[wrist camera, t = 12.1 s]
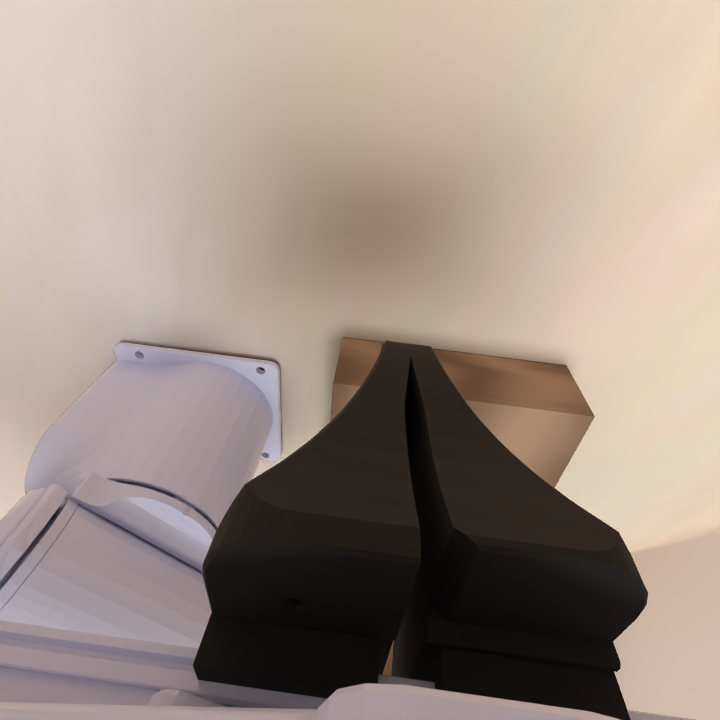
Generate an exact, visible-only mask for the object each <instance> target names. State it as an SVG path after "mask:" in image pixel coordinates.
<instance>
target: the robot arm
mask: <svg viewBox="0 0 720 720" xmlns="http://www.w3.org/2000/svg"><path fill="white" fill-rule="evenodd" d="M139 352H141V353H142V354H143V355H142V354H140V353H139ZM114 353H115V357H116V361H115V362H114V363H113V364H112V365H111V366H110V367H109V368H108V369H107V370H106V371H105V372H104V373H103V374H102V375H101V376H100V377H99V378H98V379H97V380H96V381H95V382H94V383H93V384H92V385H91V386H90V387H89V388H88V389H87V390H86V391H85V392H84V393H83V394H82V395H81V396H80V397H79V398H78V399H77V400H76V401H75V402H74V403H73V404H72V405H71V406H70V407H69V408H68V409H67V410H66V411H65V412H64V413H63V414H62V415H61V416H60V417H59V418H58V419H57V420H56V421H55V422H54V423H53V424H52V425H51V426H50V427H49V428H48V430H47V431H46V432H45V433H44V435H43V436H42V438H41V439H40V441H39V443H38V445H37V446H36V448H35V450H34V452H33V455H32V457H31V459H30V462H29V465H28V468H27V472H26V477H25V495H24V496H23V497H22V498H21V499H20V500H19V501H18V502H17V503H16V504H15V505H14V507H13V508H12V509H11V510H10V511H9V512H8V513H7V514H6V515H5V516H4V517H3V518H2V519H1V520H0V720H694V719H687V718H680V717H673V716H666V715H660V714H653V713H646V712H638V711H631V710H627V708H626V705H625V702H624V699H623V697H622V693H621V691H620V688H619V685H618V682H617V679H616V676H615V673H614V671H616V672H617V671H618V670H619V669H620V660H619V657H618V654H617V652H616V649H615V646H614V643H613V641H614V640H615V639H616V638H617V637H618V636H619V635H620V634H621V633H622V632H623V631H624V630H625V629H626V628H627V627H628V626H629V625H630V624H631V623H632V622H634V621H635V620H636V619H637V617H638V616H639V615H640V613H641V612H642V611H643V609H644V608H645V606H646V604H647V597H648V592H647V590H646V588H645V586H644V584H643V581H642V579H641V577H640V574H639V572H638V570H637V567H636V565H635V563H634V561H633V558H632V556H631V554H630V552H629V550H628V549H627V547H626V545H625V543H624V541H623V539H622V538H621V536H620V534H619V532H618V531H616V530H615V529H613V528H612V527H610V526H609V525H607V524H606V523H604V522H603V521H601V520H600V519H598V518H596V517H595V516H593V515H592V514H590V513H589V512H587V511H586V510H584V509H583V508H581V507H580V506H578V505H577V504H575V503H574V502H572V501H571V500H569V499H568V498H567V497H565V496H564V495H563V494H561V493H560V492H559V491H557V490H556V489H555V488H553V487H552V486H551V485H549V484H548V483H547V482H545V481H544V480H543V479H542V478H541V477H539V476H538V475H537V474H536V473H534V472H533V471H532V470H531V469H529V468H528V467H527V466H526V465H525V464H524V463H523V462H522V461H520V460H519V459H518V458H517V457H516V456H515V455H514V454H513V453H511V452H510V451H509V450H508V449H507V448H506V447H505V446H504V445H503V444H502V443H501V442H500V441H499V440H498V439H497V438H496V437H495V436H494V435H493V434H492V432H491V431H490V430H489V429H488V428H487V427H486V426H485V425H484V424H483V423H482V422H481V420H480V419H479V418H478V417H477V416H476V414H475V413H474V412H473V411H472V409H471V408H470V407H469V405H468V404H467V403H466V401H465V400H464V399H463V397H462V396H461V394H460V393H459V391H458V390H457V389H456V387H455V386H454V384H453V383H452V381H451V380H450V378H449V376H448V375H447V373H446V371H445V370H444V368H443V367H442V365H441V363H440V361H439V360H438V358H437V356H436V354H435V352H434V351H433V349H432V348H431V347H430V346H422V345H414V344H406V343H398V342H390V341H386V342H385V343H383V344H382V348H381V351H380V354H379V356H378V359H377V361H376V363H375V364H374V366H373V368H372V370H371V371H370V373H369V375H368V376H367V378H366V379H365V381H364V382H363V384H362V385H361V387H360V388H359V389H358V391H357V392H356V393H355V395H354V396H353V397H352V398H351V400H350V401H349V402H348V403H347V404H346V406H345V407H344V408H343V409H342V410H341V411H340V412H339V413H338V414H337V415H336V417H335V418H334V419H333V420H332V421H331V422H330V423H328V424H327V425H326V426H325V427H324V428H323V429H322V430H321V431H320V432H319V433H318V434H317V435H315V436H314V437H313V438H312V439H311V440H310V441H308V442H307V443H306V444H304V445H303V446H302V447H300V448H299V449H298V450H296V451H295V452H294V453H292V454H291V455H290V456H288V457H287V458H286V459H284V460H283V461H281V462H280V463H278V464H277V465H275V466H274V467H272V468H270V469H269V470H267V471H265V472H264V473H262V474H261V475H259V476H257V477H256V478H254V479H252V478H253V475H254V472H255V470H256V467H257V464H258V462H259V459H263V460H271V461H277V460H279V459H280V458H281V454H282V442H281V403H280V369H279V366H278V365H277V364H276V363H275V362H272V361H265V360H258V359H250V358H242V357H234V356H226V355H218V354H211V353H203V352H195V351H187V350H179V349H171V348H164V347H156V346H148V345H140V344H132V343H124V342H120V343H118V344H117V345H116V346H115V347H114ZM259 367H262V368H264V369H265V370H260V369H259ZM265 452H266V453H265ZM393 640H394V645H393V646H394V647H393V660H392V675H391V676H388V675H382V673H383V670H384V667H385V664H386V661H387V658H388V654H389V651H390V648H391V645H392V642H393Z"/></svg>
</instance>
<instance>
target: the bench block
mask: <svg viewBox="0 0 720 720" xmlns="http://www.w3.org/2000/svg"><path fill="white" fill-rule="evenodd" d="M382 344H383V343H381V342H373V341H365V340H358V339H350V338H344V339H343V343H342V348H341V352H340V356H339V361H338V365H337V369H336V373H335V378H334V382H333V394H332V409H331V421H332V420H333V419H334V418H335V417H336V415H337V414H338V413H339V412H340V411H341V410H342V409H343V408H344V407H345V406H346V404H347V403H348V402H349V401H350V400H351V398H352V397H353V396H354V395H355V393H356V392H357V391H358V389H359V388H360V387H361V385H362V384H363V382H364V381H365V379H366V378H367V376H368V375H369V373H370V371H371V370H372V368H373V366H374V364H375V363H376V361H377V359H378V356H379V354H380V351H381V348H382ZM433 351H434V352H435V354H436V356H437V358H438V360H439V361H440V363H441V365H442V367H443V368H444V370H445V371H446V373H447V375H448V376H449V378H450V380H451V381H452V383H453V384H454V386H455V387H456V389H457V390H458V391H459V393H460V394H461V396H462V397H463V399H464V400H465V401H466V403H467V404H468V405H469V407H470V408H471V409H472V411H473V412H474V413H475V414H476V416H477V417H478V418H479V419H480V420H481V422H482V423H483V424H484V425H485V426H486V427H487V428H488V429H489V430H490V431H491V432H492V434H493V435H494V436H495V437H496V438H497V439H498V440H499V441H500V442H501V443H502V444H503V445H504V446H505V447H506V448H507V449H508V450H509V451H510V452H511V453H513V454H514V455H515V456H516V457H517V458H518V459H519V460H520V461H522V462H523V463H524V464H525V465H526V466H527V467H528V468H529V469H531V470H532V471H533V472H534V473H536V474H537V475H538V476H539V477H541V478H542V479H543V480H544V481H545V482H547V483H548V484H549V485H551V486H552V487H553V488H555V486H556V484H557V482H558V481H559V479H560V477H561V475H562V474H563V472H564V470H565V468H566V466H567V465H568V463H569V461H570V459H571V458H572V456H573V454H574V452H575V451H576V449H577V447H578V445H579V443H580V442H581V440H582V438H583V436H584V435H585V433H586V431H587V429H588V428H589V426H590V424H591V422H592V421H593V419H594V417H595V416H594V415H593V413H592V411H591V409H590V407H589V406H588V404H587V402H586V400H585V398H584V396H583V395H582V393H581V391H580V389H579V387H578V386H577V384H576V382H575V380H574V378H573V377H572V375H571V373H570V371H569V369H568V368H567V366H564V365H556V364H548V363H540V362H532V361H524V360H516V359H508V358H500V357H493V356H485V355H477V354H469V353H461V352H453V351H445V350H437V349H433Z"/></svg>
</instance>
